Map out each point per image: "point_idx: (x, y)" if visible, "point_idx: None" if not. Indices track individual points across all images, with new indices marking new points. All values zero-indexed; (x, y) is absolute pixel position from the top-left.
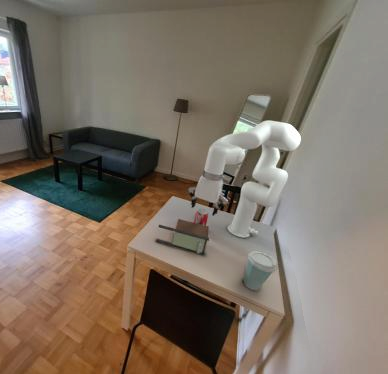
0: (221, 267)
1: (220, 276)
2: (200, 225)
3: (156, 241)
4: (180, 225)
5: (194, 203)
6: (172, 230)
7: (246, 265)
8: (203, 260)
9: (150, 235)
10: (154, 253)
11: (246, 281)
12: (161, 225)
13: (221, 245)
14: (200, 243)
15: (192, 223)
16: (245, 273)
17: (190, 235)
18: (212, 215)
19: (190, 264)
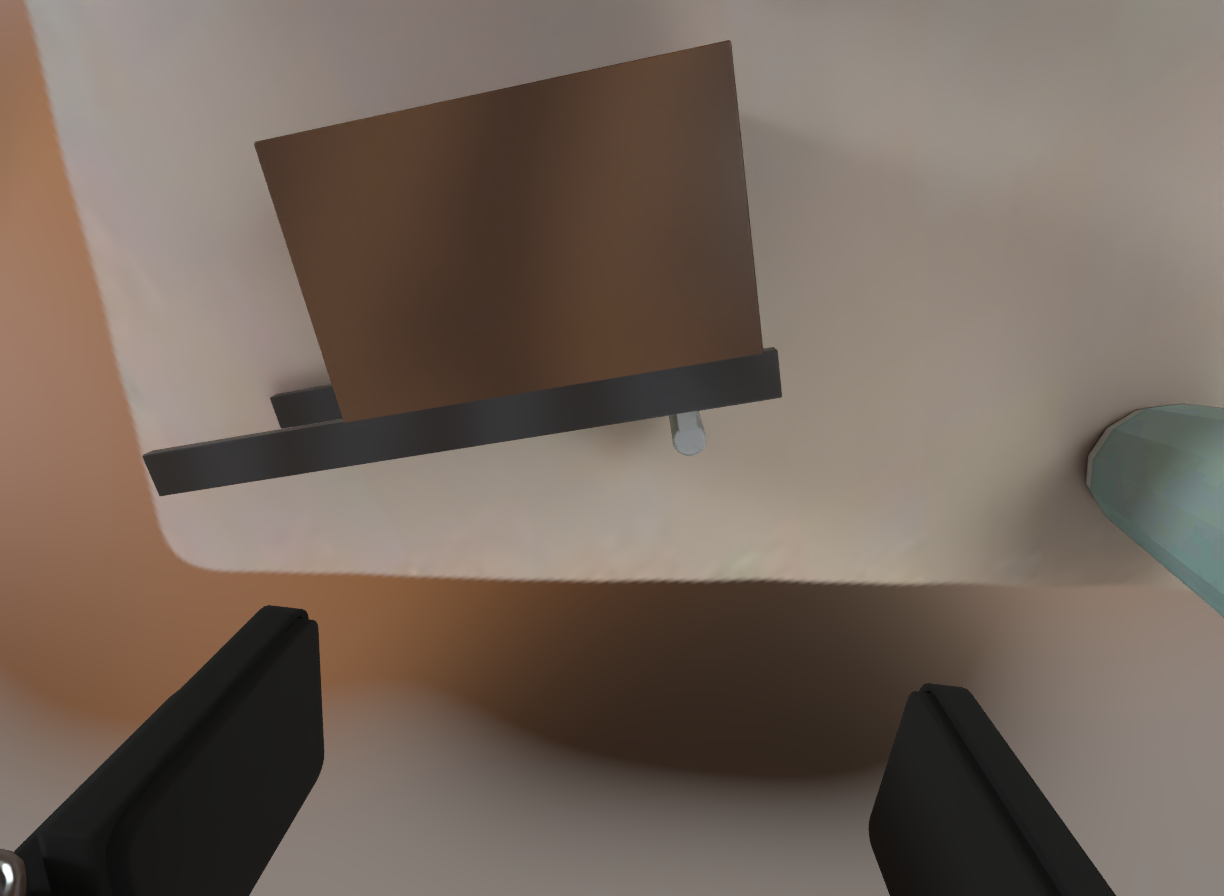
0: (904, 409)
1: (898, 512)
2: (604, 106)
3: (289, 426)
4: (360, 310)
5: (249, 829)
6: (332, 468)
7: (1189, 523)
8: (743, 413)
9: (193, 366)
10: (361, 559)
11: (1119, 523)
12: (176, 461)
13: (900, 44)
14: (689, 430)
15: (480, 134)
16: (1140, 523)
17: (551, 431)
18: (879, 835)
19: (653, 517)
